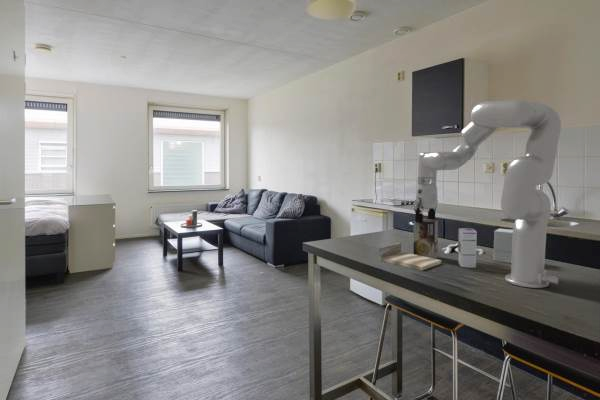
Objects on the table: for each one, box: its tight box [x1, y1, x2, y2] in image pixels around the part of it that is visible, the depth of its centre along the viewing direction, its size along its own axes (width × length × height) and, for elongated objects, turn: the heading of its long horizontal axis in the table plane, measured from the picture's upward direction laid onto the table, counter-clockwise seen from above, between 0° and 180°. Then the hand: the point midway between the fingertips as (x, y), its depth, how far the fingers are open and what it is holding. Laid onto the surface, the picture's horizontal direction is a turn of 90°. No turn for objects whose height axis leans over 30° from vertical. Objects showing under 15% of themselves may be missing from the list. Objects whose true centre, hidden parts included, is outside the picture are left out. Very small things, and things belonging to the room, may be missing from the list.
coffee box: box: [412, 218, 439, 259], centre depth 159 cm, size 9×6×16 cm
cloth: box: [441, 242, 484, 255], centre depth 169 cm, size 22×19×6 cm
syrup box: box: [457, 227, 478, 269], centre depth 146 cm, size 6×6×14 cm
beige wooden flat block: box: [378, 242, 442, 271], centre depth 152 cm, size 21×14×6 cm
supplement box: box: [493, 228, 513, 264], centre depth 153 cm, size 7×7×13 cm
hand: (425, 221), depth 159 cm, fingers open, 9 cm apart
